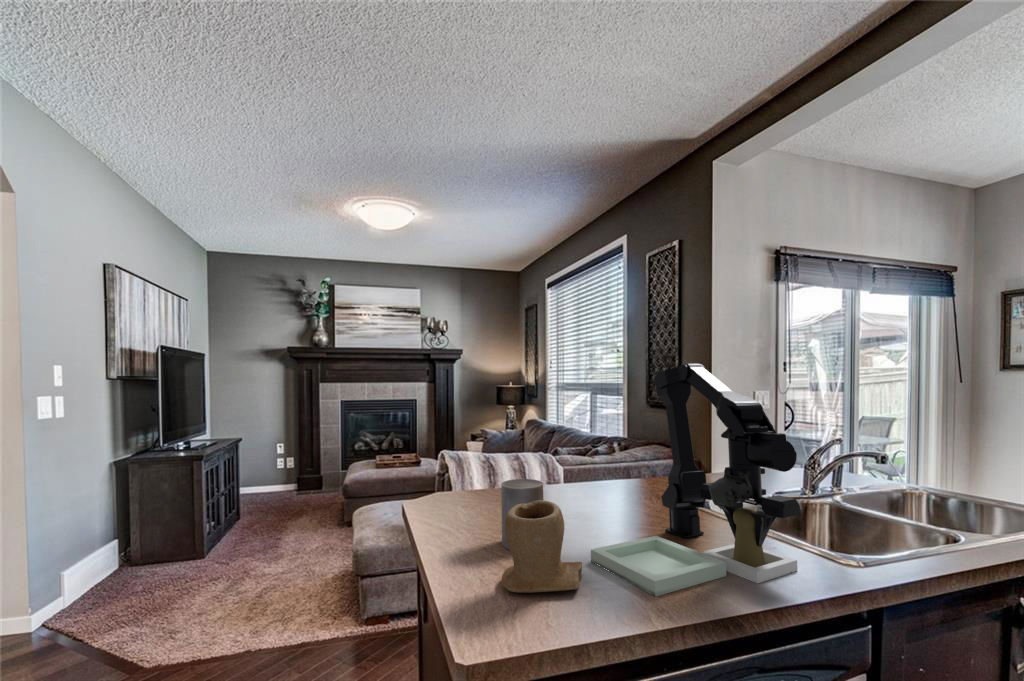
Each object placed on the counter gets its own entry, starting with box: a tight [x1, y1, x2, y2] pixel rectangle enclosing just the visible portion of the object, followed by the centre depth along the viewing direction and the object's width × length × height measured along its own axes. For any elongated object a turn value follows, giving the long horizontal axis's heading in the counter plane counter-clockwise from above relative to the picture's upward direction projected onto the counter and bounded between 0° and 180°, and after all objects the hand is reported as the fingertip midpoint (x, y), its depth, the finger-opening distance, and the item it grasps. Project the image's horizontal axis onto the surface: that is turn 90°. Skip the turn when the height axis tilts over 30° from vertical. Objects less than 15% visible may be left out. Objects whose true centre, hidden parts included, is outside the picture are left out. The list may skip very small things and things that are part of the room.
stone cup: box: [501, 500, 583, 594], centre depth 87 cm, size 15×12×15 cm
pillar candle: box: [500, 477, 545, 551], centre depth 110 cm, size 10×10×15 cm
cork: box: [732, 507, 767, 568], centre depth 96 cm, size 6×6×11 cm
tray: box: [590, 535, 727, 597], centre depth 95 cm, size 18×18×2 cm
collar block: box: [702, 543, 798, 584], centre depth 96 cm, size 12×12×2 cm
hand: (748, 542), depth 96 cm, fingers closed on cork, 4 cm apart
